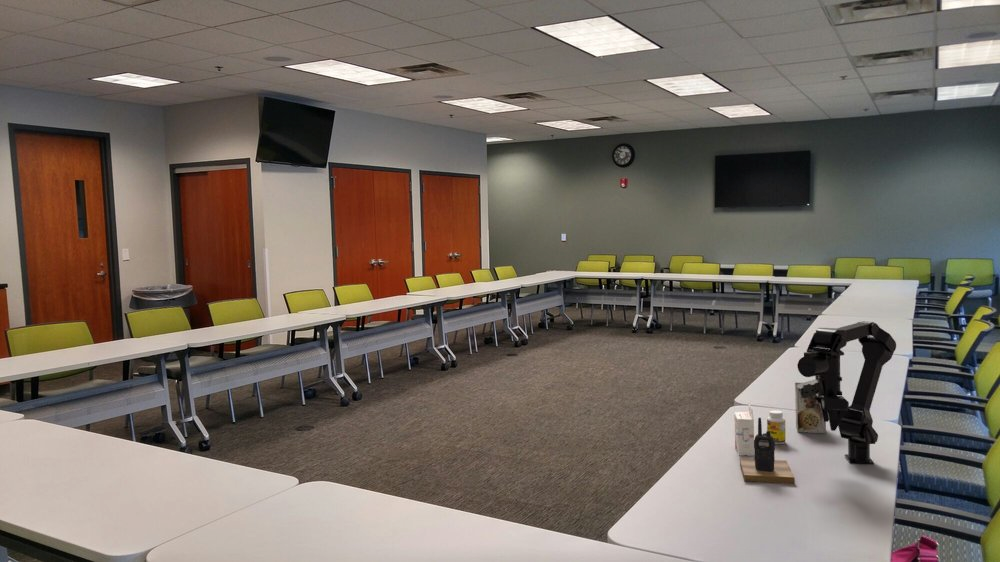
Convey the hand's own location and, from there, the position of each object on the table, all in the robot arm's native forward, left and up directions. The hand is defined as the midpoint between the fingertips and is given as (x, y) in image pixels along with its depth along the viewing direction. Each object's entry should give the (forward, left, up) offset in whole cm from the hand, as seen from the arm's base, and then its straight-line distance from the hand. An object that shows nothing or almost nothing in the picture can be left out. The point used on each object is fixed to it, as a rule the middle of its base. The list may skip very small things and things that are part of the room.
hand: (829, 425), depth 192 cm
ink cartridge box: (-14, -22, -13) cm, 29 cm away
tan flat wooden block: (+6, -18, -13) cm, 23 cm away
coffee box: (-40, +2, -13) cm, 42 cm away
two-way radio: (+7, -18, -11) cm, 23 cm away
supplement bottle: (-25, -11, -13) cm, 30 cm away
